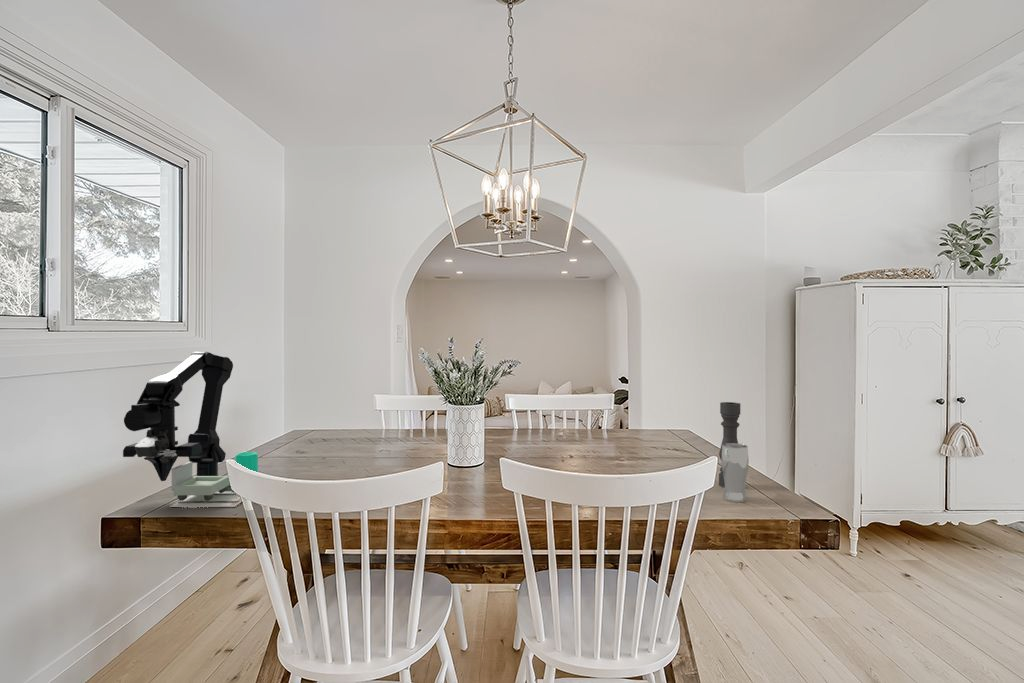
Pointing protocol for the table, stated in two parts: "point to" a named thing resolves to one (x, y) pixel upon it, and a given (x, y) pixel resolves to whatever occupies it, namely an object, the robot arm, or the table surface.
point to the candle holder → (728, 428)
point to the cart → (196, 483)
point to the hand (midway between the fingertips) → (163, 480)
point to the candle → (248, 460)
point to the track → (210, 501)
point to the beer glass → (734, 471)
